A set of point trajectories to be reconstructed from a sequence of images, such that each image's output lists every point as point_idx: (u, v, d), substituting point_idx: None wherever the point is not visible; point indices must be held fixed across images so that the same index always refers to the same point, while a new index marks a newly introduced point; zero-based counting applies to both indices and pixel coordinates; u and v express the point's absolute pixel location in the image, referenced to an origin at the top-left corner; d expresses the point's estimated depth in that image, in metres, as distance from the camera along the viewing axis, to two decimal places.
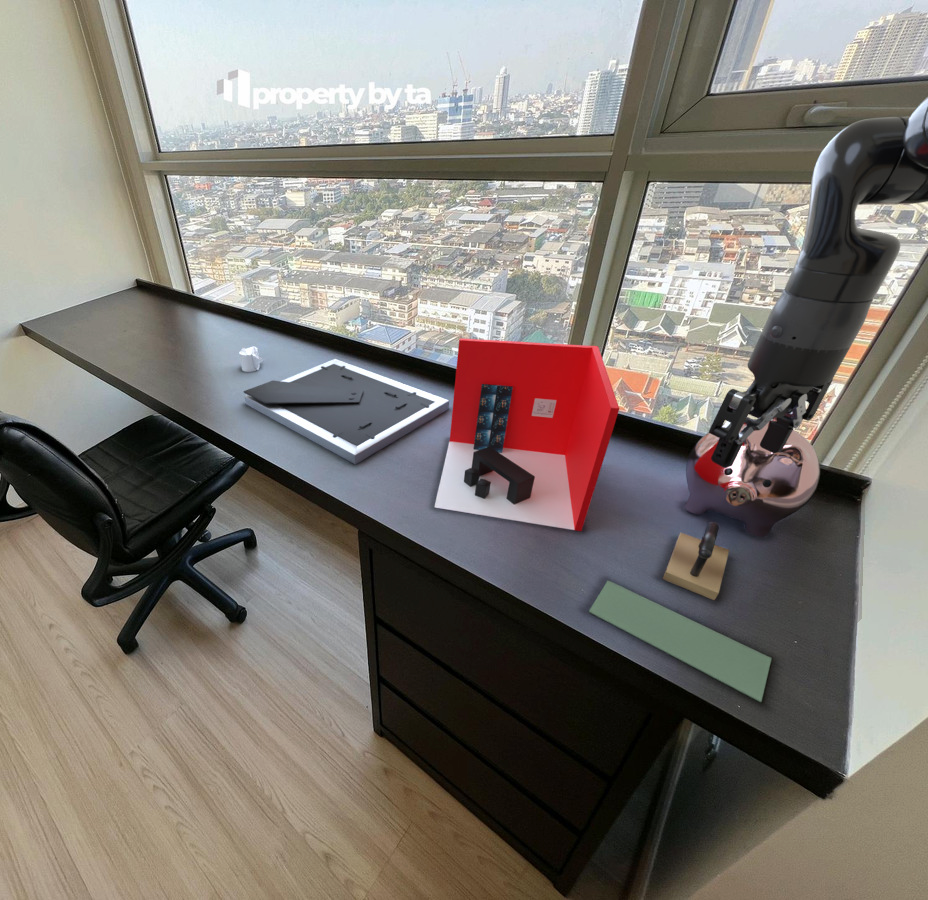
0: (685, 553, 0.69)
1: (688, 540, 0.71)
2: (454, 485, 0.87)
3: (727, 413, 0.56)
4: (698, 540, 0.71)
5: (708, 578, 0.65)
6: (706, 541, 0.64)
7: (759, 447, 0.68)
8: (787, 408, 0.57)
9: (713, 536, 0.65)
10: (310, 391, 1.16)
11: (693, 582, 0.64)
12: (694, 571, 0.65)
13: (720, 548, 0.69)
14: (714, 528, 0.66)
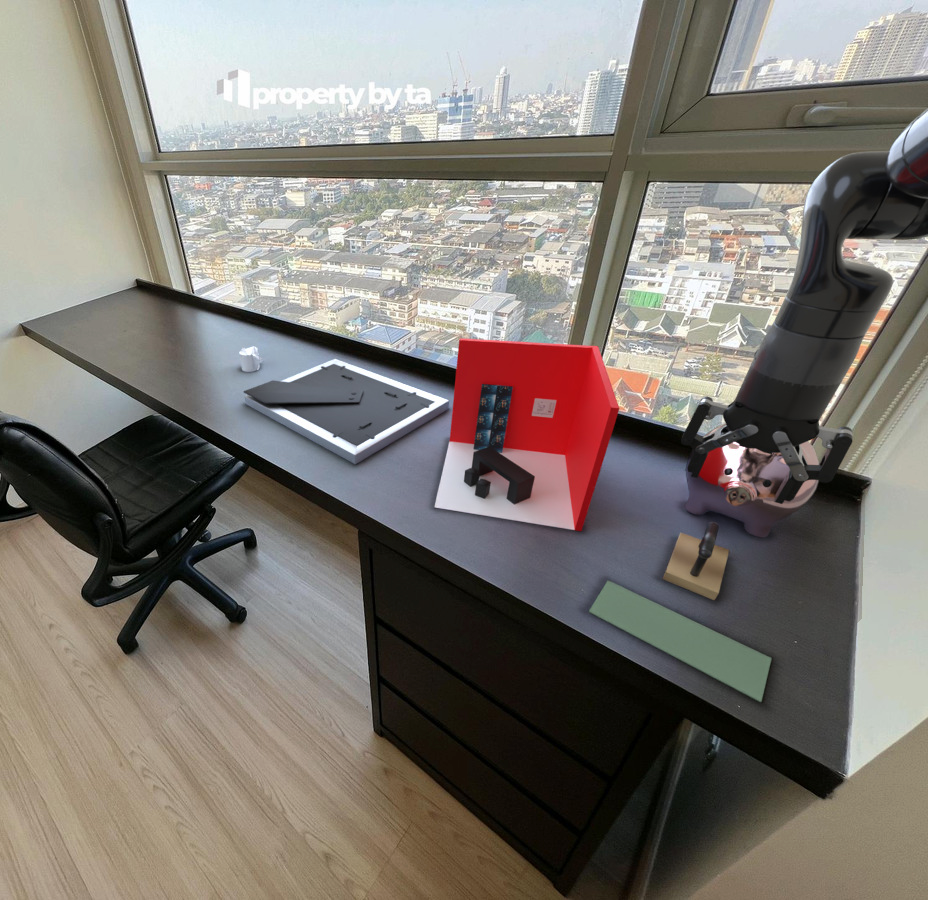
0: (685, 553, 0.69)
1: (688, 540, 0.71)
2: (454, 485, 0.87)
3: (692, 416, 0.60)
4: (698, 540, 0.71)
5: (708, 578, 0.65)
6: (706, 541, 0.64)
7: None
8: (772, 445, 0.55)
9: (713, 536, 0.65)
10: (310, 391, 1.16)
11: (693, 582, 0.64)
12: (694, 571, 0.65)
13: (720, 548, 0.69)
14: (714, 528, 0.66)
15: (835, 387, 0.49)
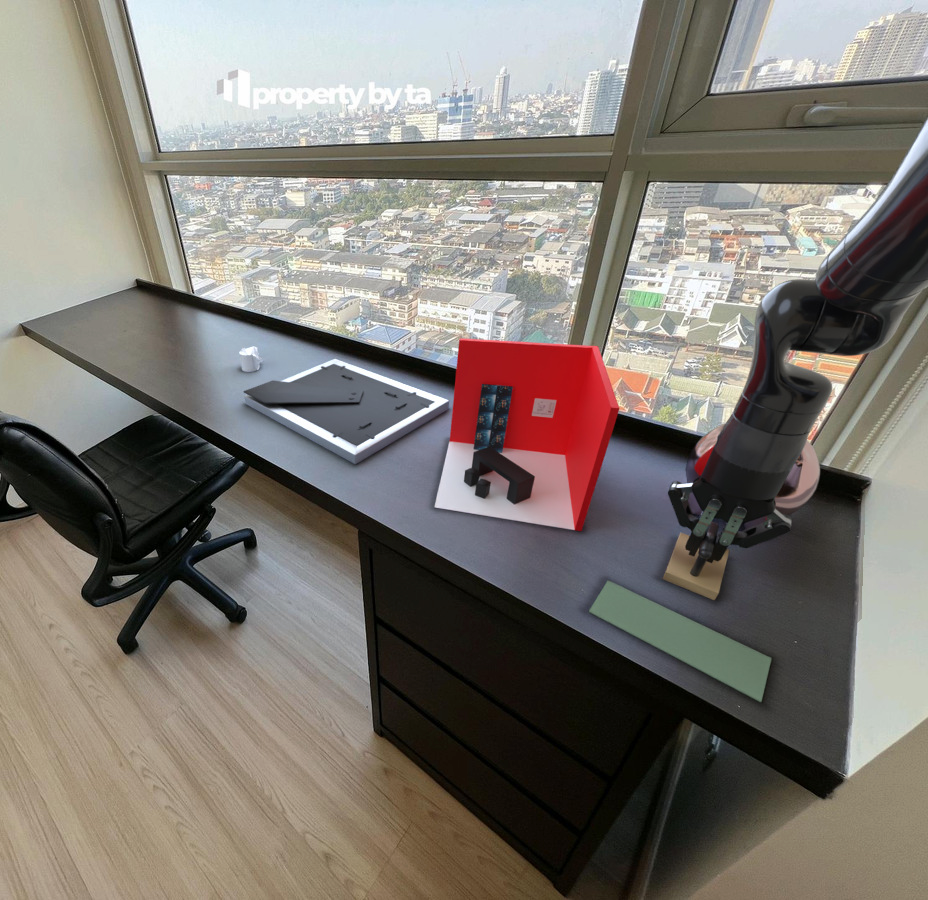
0: (685, 553, 0.69)
1: None
2: (454, 485, 0.87)
3: None
4: None
5: (708, 578, 0.65)
6: (706, 541, 0.64)
7: None
8: (726, 512, 0.61)
9: (713, 536, 0.65)
10: (310, 391, 1.16)
11: (693, 582, 0.64)
12: (694, 571, 0.65)
13: None
14: (714, 528, 0.66)
15: (786, 473, 0.55)
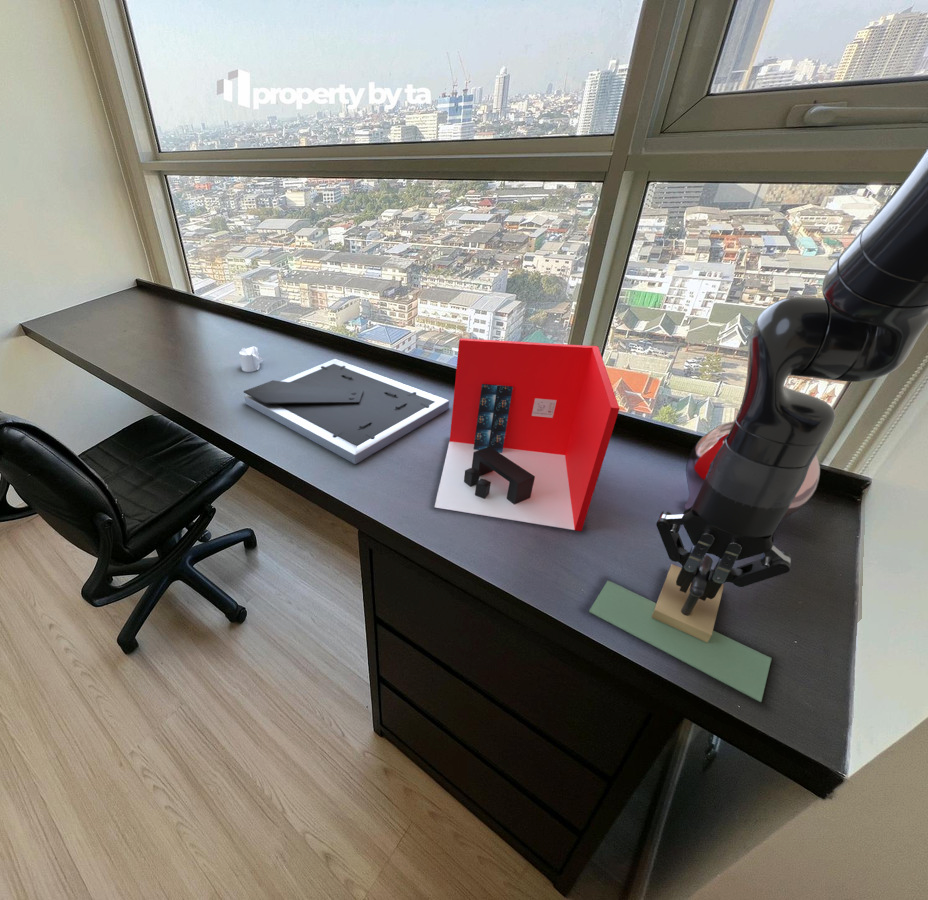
0: (676, 588, 0.64)
1: None
2: (454, 485, 0.87)
3: None
4: None
5: (701, 617, 0.60)
6: (698, 577, 0.59)
7: None
8: (720, 547, 0.56)
9: (706, 572, 0.60)
10: (310, 391, 1.16)
11: (684, 622, 0.59)
12: (685, 610, 0.60)
13: None
14: (707, 562, 0.61)
15: (785, 509, 0.50)
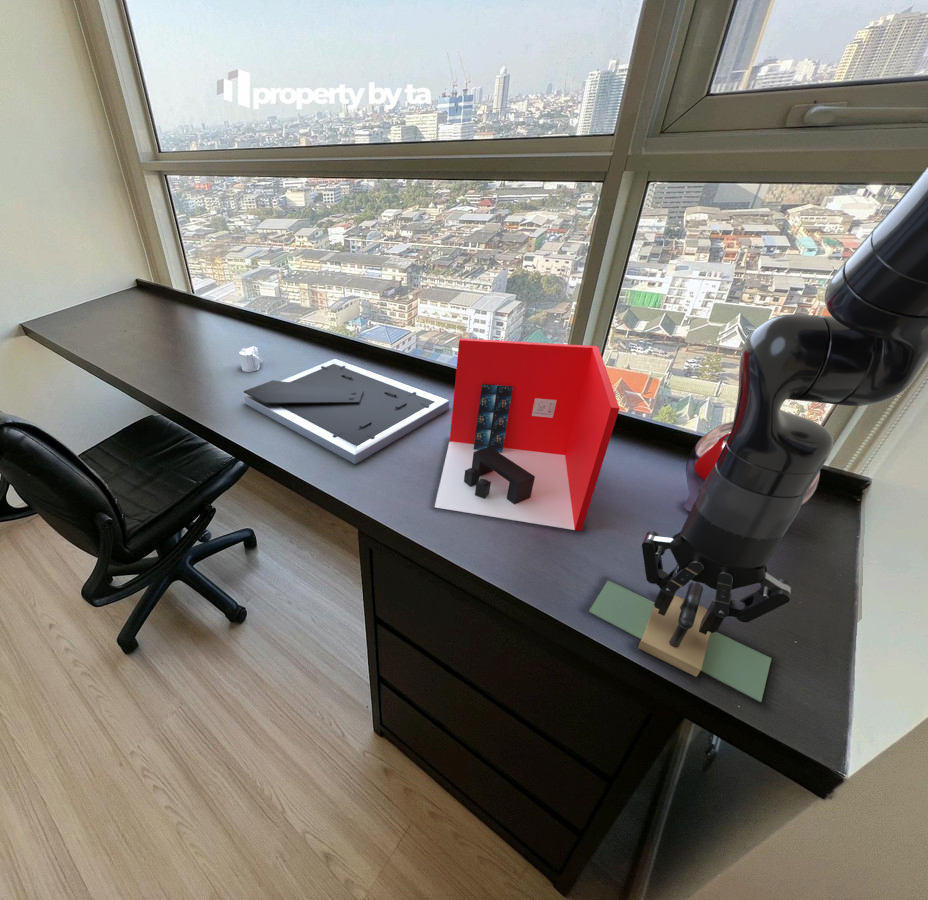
0: (665, 616, 0.60)
1: None
2: (454, 485, 0.87)
3: None
4: (680, 599, 0.62)
5: (690, 649, 0.56)
6: (687, 607, 0.56)
7: None
8: (712, 578, 0.53)
9: (696, 601, 0.56)
10: (310, 391, 1.16)
11: (673, 655, 0.56)
12: (674, 642, 0.56)
13: (705, 610, 0.60)
14: (697, 590, 0.57)
15: (779, 539, 0.46)
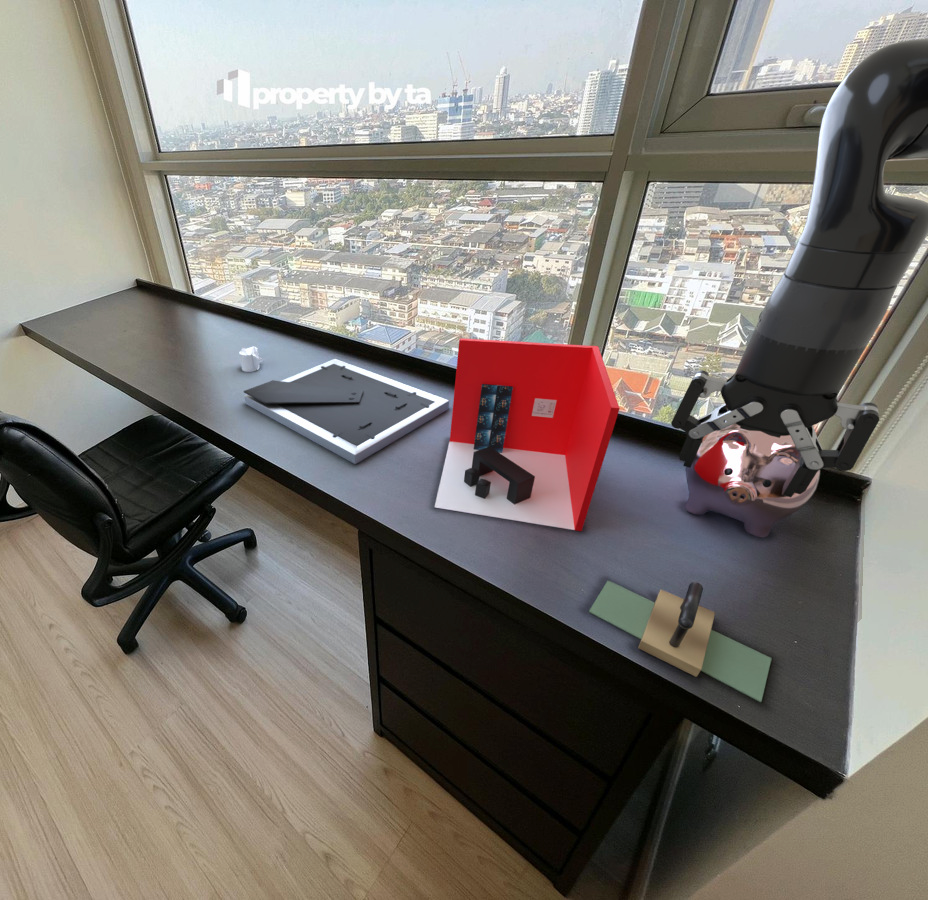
0: (665, 616, 0.60)
1: (669, 599, 0.62)
2: (454, 485, 0.87)
3: None
4: (680, 599, 0.62)
5: (690, 649, 0.56)
6: (687, 607, 0.56)
7: (759, 447, 0.68)
8: (780, 426, 0.46)
9: (696, 601, 0.56)
10: (310, 391, 1.16)
11: (673, 655, 0.56)
12: (674, 642, 0.56)
13: (705, 610, 0.60)
14: (697, 590, 0.57)
15: (859, 352, 0.40)
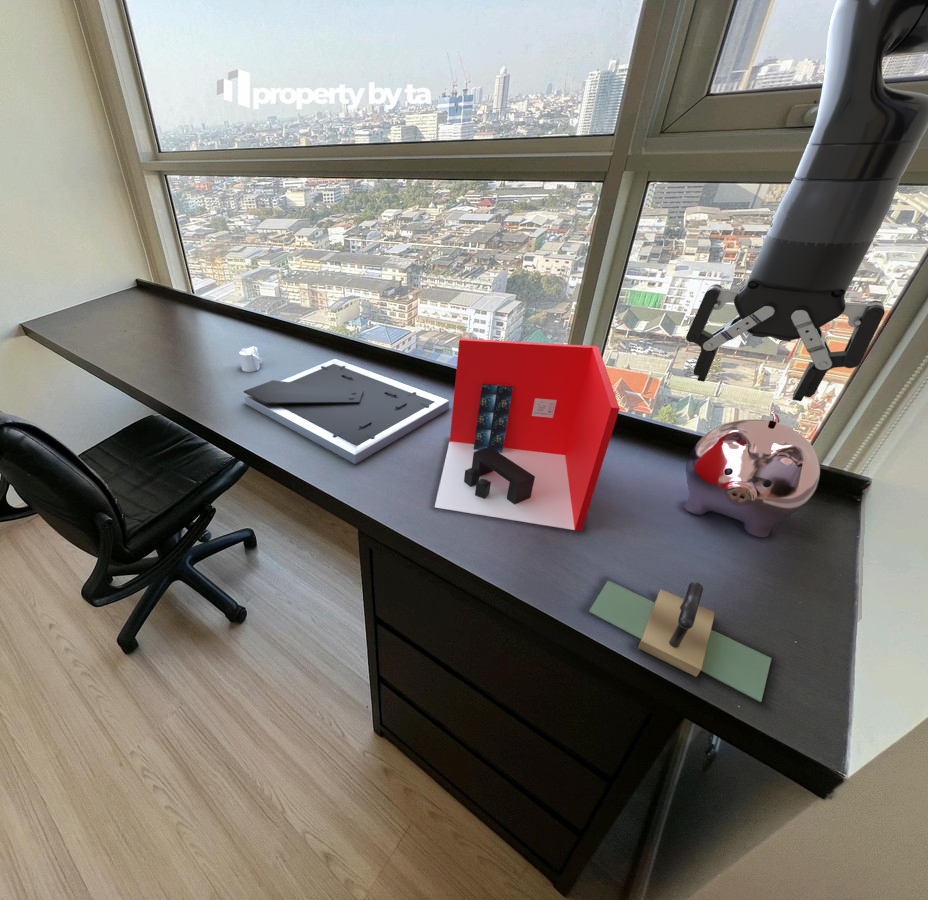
0: (665, 616, 0.60)
1: (669, 599, 0.62)
2: (454, 485, 0.87)
3: None
4: (680, 599, 0.62)
5: (690, 649, 0.56)
6: (687, 607, 0.56)
7: (759, 447, 0.68)
8: (790, 329, 0.49)
9: (696, 601, 0.56)
10: (310, 391, 1.16)
11: (673, 655, 0.56)
12: (674, 642, 0.56)
13: (705, 610, 0.60)
14: (697, 590, 0.57)
15: (865, 246, 0.43)
